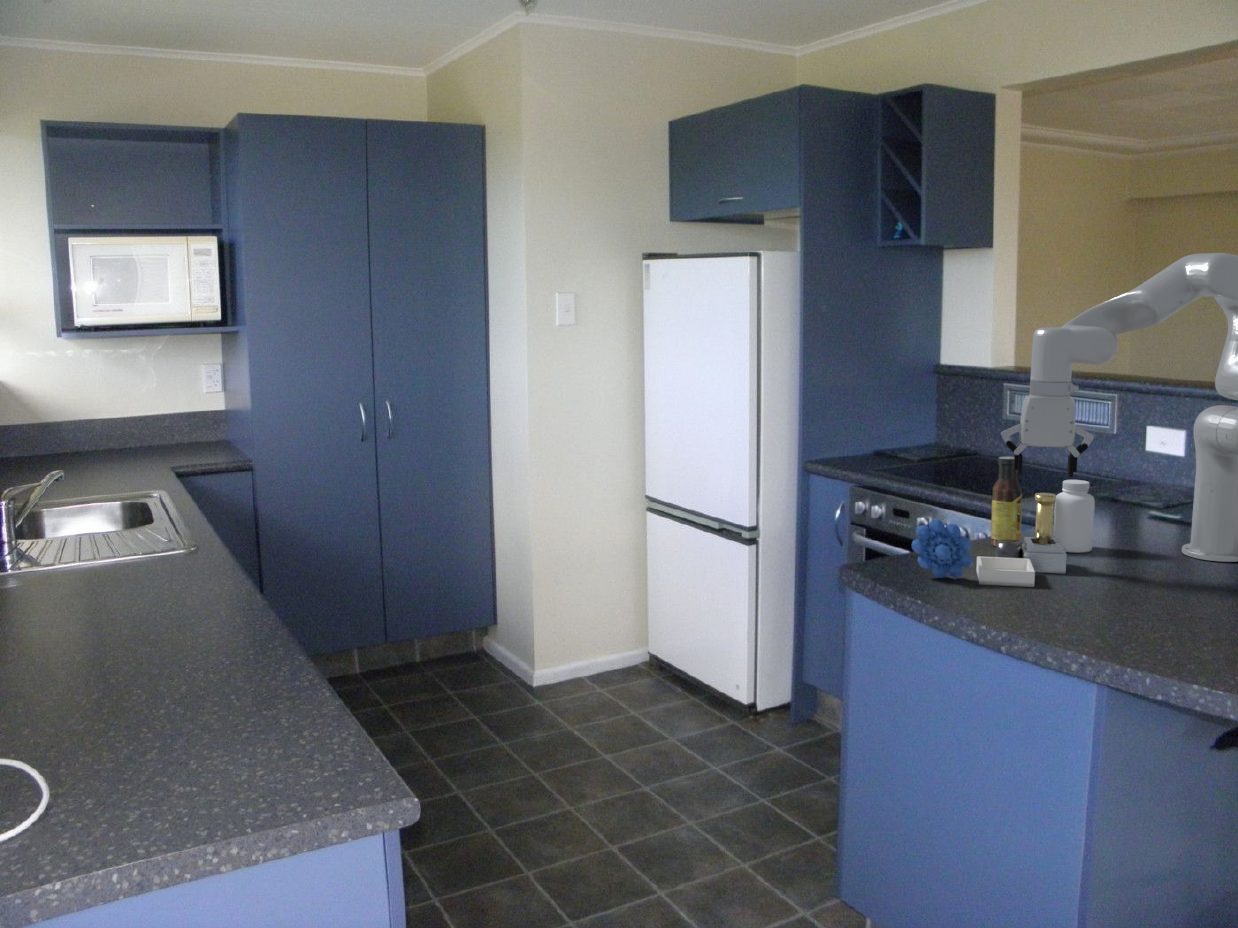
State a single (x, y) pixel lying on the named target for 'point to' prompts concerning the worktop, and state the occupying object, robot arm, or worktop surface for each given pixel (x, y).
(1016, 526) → the sauce bottle
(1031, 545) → the tensioner block
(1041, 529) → the pin
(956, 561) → the blue flower
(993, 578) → the tray
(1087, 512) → the pill bottle
